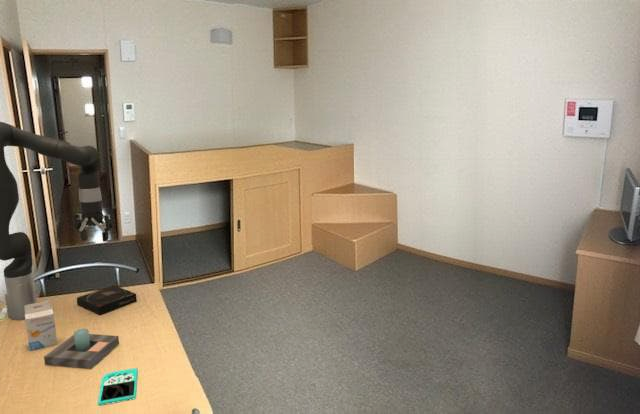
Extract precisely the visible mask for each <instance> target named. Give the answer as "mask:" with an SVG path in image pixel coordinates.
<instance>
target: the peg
mask: <svg viewBox="0 0 640 414" xmlns="http://www.w3.org/2000/svg"><path fill="white" fill-rule="evenodd" d="M89 334H90V332H89V329H88V328H81V329H76V330H75V331H74V332H73V335H74V339H75V347H76V351H80V352H86V351H88V350H89V349H90V348H91V347H90V339H89Z"/></svg>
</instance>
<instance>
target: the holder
mask: <svg viewBox="0 0 640 414" xmlns="http://www.w3.org/2000/svg"><path fill="white" fill-rule="evenodd" d="M89 339H90V347H91V348H90V349H89V350H88V351H86V352H80V351H76V347H75V339H74V334H73V335H71V336H70V337H68V338H67V339H66V340H64V341H63V342H62V343H60V344H59V345H58V346H56V347H54V349H52V350H51V351H49V352H48V353H47V354H45V355H44V356H43V359H44V365H45V366H54V367H63V368H64V367H65V368H75V369H77V368H78V369H87V370H89V369H90V370H92V369H93V368H94V367H95V366H96V365H97V364H98V363H99V362H101V361H102V360H103V359H104V358H105V357H106V356H107V355H108V354H109V353H111V352H112V351H113V350H114V349H115V348H116V347H117V346H119V345H120V340H119V335H111V334H109V335H107V334H99V333H97V334H94V333H89Z"/></svg>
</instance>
